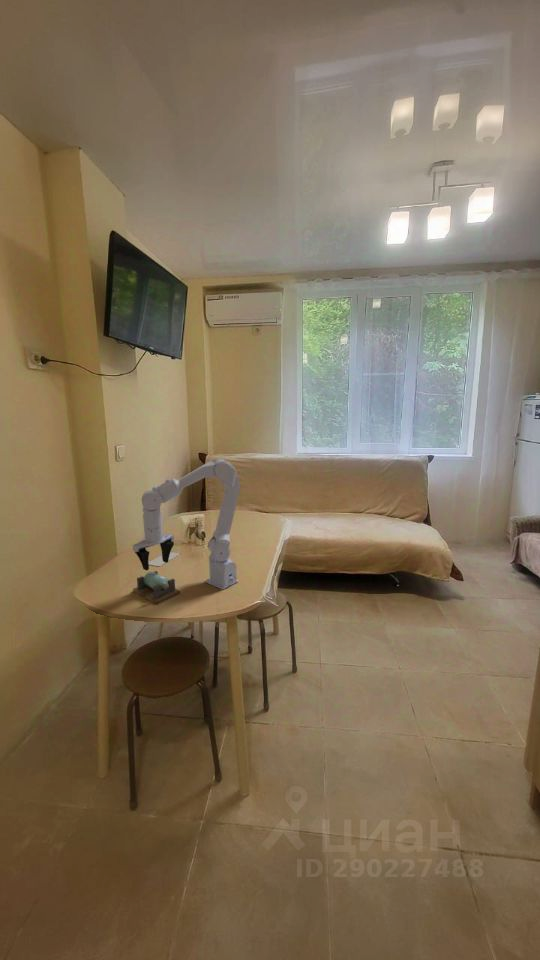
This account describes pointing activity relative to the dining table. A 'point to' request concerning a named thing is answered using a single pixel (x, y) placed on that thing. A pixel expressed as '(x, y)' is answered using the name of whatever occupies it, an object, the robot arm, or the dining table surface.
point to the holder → (156, 591)
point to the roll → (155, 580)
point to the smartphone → (159, 560)
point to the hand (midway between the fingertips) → (155, 565)
